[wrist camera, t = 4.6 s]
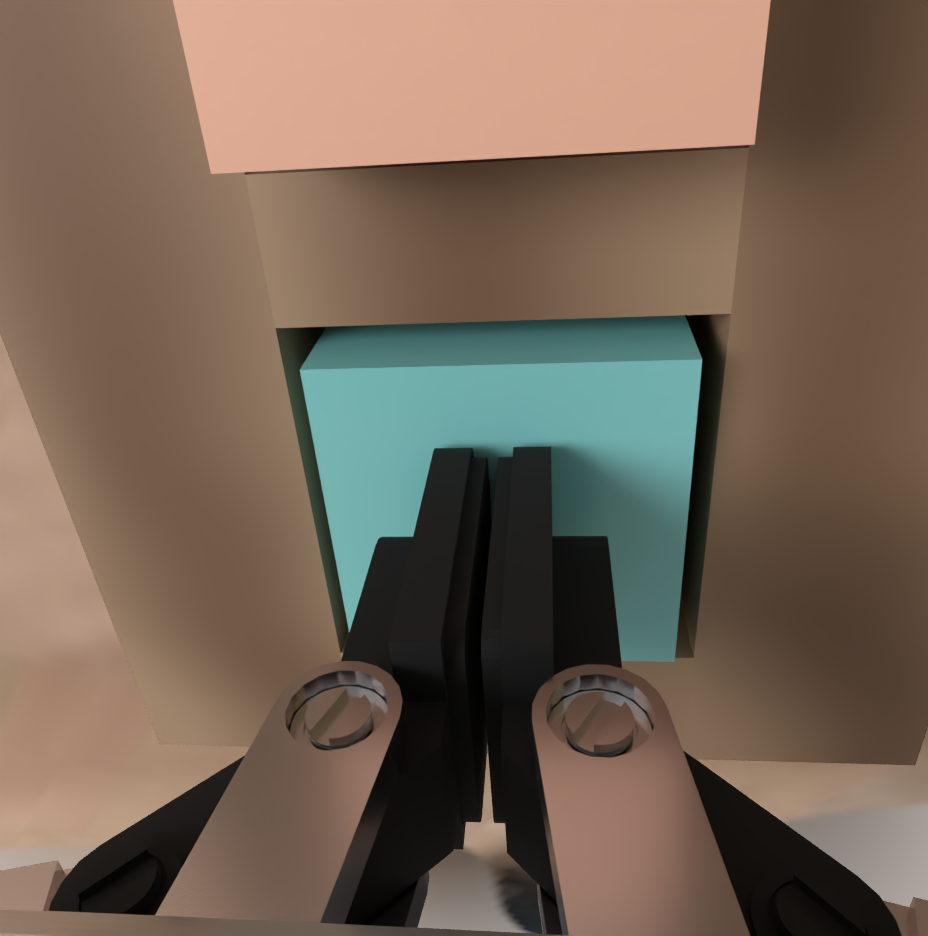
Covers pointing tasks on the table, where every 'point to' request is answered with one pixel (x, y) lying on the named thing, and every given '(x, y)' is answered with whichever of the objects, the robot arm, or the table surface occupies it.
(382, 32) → the terracotta button
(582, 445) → the teal button
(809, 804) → the table surface
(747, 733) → the console
